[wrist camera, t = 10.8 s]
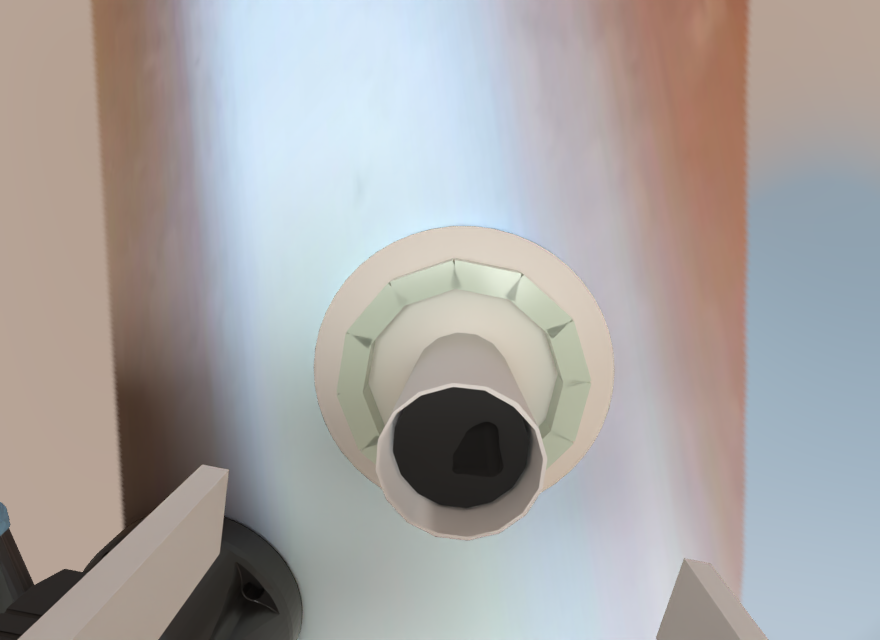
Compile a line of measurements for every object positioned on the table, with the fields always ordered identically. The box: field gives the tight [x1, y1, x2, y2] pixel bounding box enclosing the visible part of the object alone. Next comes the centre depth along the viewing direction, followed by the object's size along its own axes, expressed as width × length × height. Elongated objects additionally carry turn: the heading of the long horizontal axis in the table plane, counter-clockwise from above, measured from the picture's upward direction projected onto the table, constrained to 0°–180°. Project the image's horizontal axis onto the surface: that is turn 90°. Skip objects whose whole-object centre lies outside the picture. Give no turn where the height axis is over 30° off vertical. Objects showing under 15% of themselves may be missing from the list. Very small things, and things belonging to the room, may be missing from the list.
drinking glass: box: [376, 332, 547, 540], centre depth 22 cm, size 7×7×10 cm
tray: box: [314, 226, 614, 492], centre depth 27 cm, size 18×18×3 cm
